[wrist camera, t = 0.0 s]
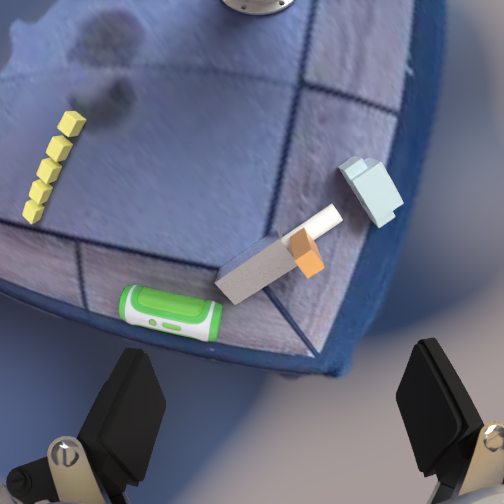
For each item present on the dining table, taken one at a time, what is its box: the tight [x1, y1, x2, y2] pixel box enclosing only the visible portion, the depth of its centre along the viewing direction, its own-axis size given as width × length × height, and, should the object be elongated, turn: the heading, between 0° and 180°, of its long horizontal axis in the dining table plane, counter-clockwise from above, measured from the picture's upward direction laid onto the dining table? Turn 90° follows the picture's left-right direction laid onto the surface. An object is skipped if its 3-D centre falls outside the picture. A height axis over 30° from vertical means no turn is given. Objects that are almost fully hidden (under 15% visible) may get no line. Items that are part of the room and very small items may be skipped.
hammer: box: [281, 204, 343, 278], centre depth 41 cm, size 3×20×11 cm, turn 128°
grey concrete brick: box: [215, 228, 298, 305], centre depth 46 cm, size 5×12×5 cm, turn 128°
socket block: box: [338, 156, 403, 228], centre depth 40 cm, size 10×5×6 cm, turn 38°
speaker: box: [119, 285, 223, 341], centre depth 50 cm, size 18×7×8 cm, turn 80°
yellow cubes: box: [22, 111, 86, 224], centre depth 42 cm, size 32×32×3 cm
